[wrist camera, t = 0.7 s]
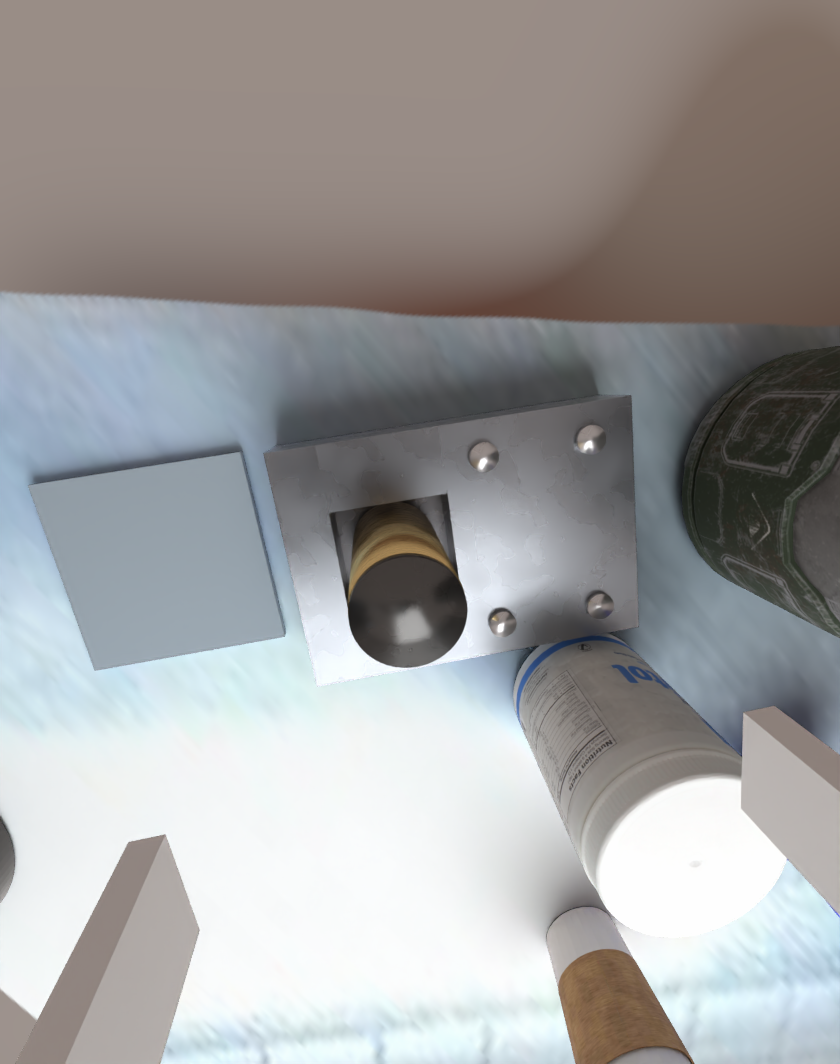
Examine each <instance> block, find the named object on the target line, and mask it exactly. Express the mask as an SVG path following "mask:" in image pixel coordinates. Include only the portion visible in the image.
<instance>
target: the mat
mask: <svg viewBox="0 0 840 1064" xmlns="http://www.w3.org/2000/svg"><path fill="white" fill-rule="evenodd" d="M28 487H29V490H30V493H31V496H32V498H33V501H34V504H35V507H36V509H37V512H38V515H39V518H40V521H41V523H42V526H43V529H44V532H45V534H46V537H47V540H48V543H49V545H50V548H51V551H52V554H53V556H54V559H55V562H56V565H57V568H58V570H59V573H60V576H61V579H62V581H63V584H64V587H65V590H66V592H67V595H68V598H69V601H70V603H71V606H72V609H73V612H74V615H75V617H76V620H77V623H78V626H79V628H80V631H81V634H82V637H83V639H84V642H85V645H86V648H87V650H88V653H89V656H90V659H91V662H92V664H93V667H94V670H95V671H96V670H102V669H107V668H113V667H119V666H124V665H130V664H135V663H141V662H146V661H152V660H158V659H163V658H169V657H174V656H180V655H185V654H191V653H197V652H202V651H208V650H213V649H219V648H224V647H230V646H236V645H241V644H247V643H252V642H258V641H263V640H269V639H275V638H280V637H285V634H286V631H285V626H284V622H283V618H282V614H281V610H280V606H279V601H278V597H277V593H276V589H275V585H274V581H273V577H272V572H271V568H270V564H269V560H268V556H267V552H266V547H265V543H264V539H263V535H262V531H261V527H260V522H259V518H258V514H257V510H256V506H255V502H254V498H253V493H252V489H251V485H250V481H249V477H248V473H247V468H246V464H245V460H244V456H243V452H242V451H240V452H233V453H227V454H221V455H214V456H208V457H201V458H195V459H189V460H182V461H176V462H170V463H163V464H157V465H151V466H144V467H138V468H131V469H125V470H119V471H112V472H106V473H100V474H93V475H87V476H81V477H74V478H68V479H62V480H55V481H49V482H42V483H36V484H32V485H28Z"/></svg>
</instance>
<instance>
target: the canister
mask: <svg viewBox="0 0 840 1064" xmlns="http://www.w3.org/2000/svg"><path fill="white" fill-rule="evenodd" d="M684 466H685V470H684V478H683V486H682V505H683V516H684V520H685V523H686V527H687V530H688V534H689V537H690V539H691V540H692V542H693V544H694V546H695V548H696V550H697V552H698V553H699V555H700V556H701V557H702V558H703V559H704V560H705V561H706V563H707V564H708V565H709V566H710V567H711V568H712V569H713V570H714V571H715V572H717V573H718V574H720V575H721V576H723V577H724V578H725V579H727V580H729V581H731V582H733V583H734V584H736V585H738V586H740V587H742V588H744V589H746V590H748V591H750V592H752V593H754V594H756V595H757V596H759V597H761V598H763V599H765V600H767V601H769V602H771V603H773V604H775V605H777V606H779V607H781V608H783V609H784V610H786V611H788V612H790V613H792V614H794V615H796V616H798V617H800V618H802V619H804V620H806V621H808V622H810V623H811V624H813V625H815V626H817V627H819V628H821V629H823V630H825V631H827V632H829V633H831V634H833V635H835V636H836V637H838V638H840V346H835V347H829V348H823V349H813V350H807V351H802V352H798V353H793V354H789V355H784V356H782V357H780V358H778V359H775V360H773V361H771V362H768V363H766V364H764V365H762V366H760V367H759V368H757V369H756V370H754V371H753V372H751V373H750V374H748V375H747V376H745V377H744V378H742V379H741V380H739V381H738V382H737V383H736V384H735V385H734V386H732V387H731V388H730V389H729V390H728V391H727V392H726V393H725V394H724V395H723V396H722V397H721V398H720V399H719V400H718V401H717V402H716V403H715V404H714V405H713V407H712V408H711V409H710V411H709V412H708V413H707V415H706V416H705V417H704V419H703V420H702V422H701V423H700V425H699V427H698V429H697V431H696V433H695V435H694V437H693V439H692V441H691V443H690V445H689V448H688V452H687V455H686V459H685V462H684Z"/></svg>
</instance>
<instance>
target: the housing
mask: <svg viewBox="0 0 840 1064" xmlns="http://www.w3.org/2000/svg"><path fill="white" fill-rule="evenodd" d="M263 454H264V458H265V463H266V467H267V471H268V476H269V480H270V484H271V489H272V493H273V498H274V502H275V506H276V511H277V515H278V519H279V524H280V528H281V532H282V537H283V541H284V545H285V550H286V554H287V558H288V563H289V567H290V572H291V576H292V580H293V585H294V589H295V593H296V598H297V602H298V606H299V611H300V615H301V619H302V624H303V628H304V632H305V637H306V641H307V646H308V650H309V654H310V659H311V663H312V667H313V672H314V676H315V680H316V685H317V687H318V686H323V685H329V684H334V683H340V682H345V681H350V680H356V679H361V678H366V677H372V676H377V675H383V674H388V673H393V672H399V671H404V670H409V669H415V668H420V667H426V666H431V665H436V664H442V663H447V662H452V661H458V660H463V659H469V658H474V657H479V656H485V655H490V654H495V653H501V652H506V651H512V650H517V649H522V648H528V647H533V646H538V645H544V644H549V643H555V642H560V641H565V640H571V639H576V638H581V637H587V636H592V635H598V634H603V633H608V632H614V631H619V630H624V629H630V628H635V627H639V616H638V585H637V554H636V524H635V493H634V462H633V431H632V400H631V395H596V396H589V397H583V398H577V399H570V400H564V401H558V402H551V403H545V404H539V405H532V406H526V407H519V408H513V409H507V410H500V411H494V412H488V413H481V414H475V415H469V416H462V417H456V418H449V419H443V420H437V421H430V422H424V423H418V424H411V425H405V426H399V427H392V428H386V429H380V430H373V431H367V432H360V433H354V434H348V435H341V436H335V437H329V438H322V439H316V440H310V441H303V442H297V443H290V444H284V445H278V446H275V447H273V448H272V449H270V450H268V451H267V452H265V453H263ZM392 502H402V503H407V504H410V505H412V506H414V507H416V508H418V509H419V510H420V511H422V512H423V513H424V514H425V515H426V516H427V518H428V519H429V520H430V522H431V524H432V526H433V528H434V530H435V532H436V534H437V536H438V538H439V540H440V542H441V544H442V546H443V548H444V550H445V552H446V554H447V556H448V558H449V560H450V562H451V564H452V566H453V568H454V570H455V572H456V574H457V576H458V578H459V580H460V582H461V584H462V586H463V589H464V592H465V596H466V600H467V609H468V612H467V620H466V625H465V628H464V631H463V633H462V635H461V637H460V638H459V640H458V641H457V643H456V644H455V645H454V646H453V648H452V649H451V650H450V651H449V652H447V653H446V654H445V655H444V656H442V657H441V658H439V659H437V660H435V661H434V662H432V663H429V664H426V665H423V666H419V667H412V668H399V667H393V666H388V665H385V664H383V663H380V662H378V661H376V660H374V659H373V658H371V657H370V656H368V655H367V654H366V653H365V652H364V651H363V650H362V649H361V648H360V647H359V645H358V644H357V642H356V641H355V639H354V637H353V635H352V633H351V629H350V626H349V619H348V595H349V582H350V570H351V558H352V546H353V536H354V532H355V528H356V526H357V524H358V522H359V521H360V519H361V518H362V517H363V515H364V514H366V513H367V512H368V511H369V510H370V509H372V508H374V507H375V506H377V505H380V504H386V503H392Z"/></svg>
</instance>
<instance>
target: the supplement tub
mask: <svg viewBox="0 0 840 1064" xmlns="http://www.w3.org/2000/svg"><path fill="white" fill-rule="evenodd" d="M513 701H514V708H515V712H516V715H517V717H518V720H519V722H520V725H521V727H522V730H523V732H524V734H525V736H526V739H527V741H528V743H529V745H530V748H531V750H532V752H533V754H534V756H535V759H536V761H537V763H538V766H539V768H540V771H541V773H542V775H543V777H544V779H545V782H546V784H547V786H548V788H549V791H550V793H551V795H552V797H553V800H554V802H555V804H556V807H557V809H558V811H559V814H560V816H561V818H562V820H563V823H564V825H565V827H566V830H567V832H568V834H569V836H570V839H571V841H572V843H573V845H574V848H575V850H576V852H577V854H578V856H579V859H580V861H581V863H582V865H583V867H584V870H585V872H586V874H587V876H588V878H589V880H590V882H591V883H592V884H593V886H594V887H595V888H596V890H597V892H598V894H599V896H600V898H601V900H602V902H603V903H604V905H605V907H606V908H607V909H608V911H609V912H610V913H611V914H612V915H613V916H614V917H615V918H616V919H617V920H618V921H620V922H621V923H623V924H624V925H626V926H628V927H629V928H631V929H634V930H636V931H638V932H641V933H644V934H648V935H653V936H659V937H685V936H692V935H697V934H702V933H705V932H708V931H711V930H714V929H717V928H719V927H722V926H724V925H726V924H728V923H730V922H732V921H734V920H736V919H737V918H739V917H740V916H742V915H743V914H745V913H746V912H748V911H749V910H750V909H752V908H753V907H754V906H755V905H756V904H757V903H758V902H759V901H761V900H762V899H763V898H764V897H765V895H766V894H767V893H768V892H769V891H770V890H771V888H772V887H773V886H774V884H775V883H776V881H777V880H778V878H779V876H780V875H781V873H782V871H783V868H784V866H785V864H786V861H787V858H786V857H785V856H784V855H783V854H782V853H781V851H780V850H779V849H778V848H777V847H776V846H775V845H774V844H773V843H772V842H771V841H770V840H769V838H768V837H767V836H766V835H765V834H764V833H763V832H762V831H761V830H760V829H759V828H758V826H757V825H756V824H755V823H754V822H753V821H752V820H751V819H750V818H749V817H748V816H747V815H746V813H745V812H744V811H743V810H742V809H741V780H742V757H741V756H740V755H739V754H738V753H737V752H736V751H735V750H734V749H733V748H732V747H731V746H730V745H729V744H728V743H727V742H726V741H725V740H724V739H723V738H722V737H721V736H720V735H719V734H718V733H717V732H716V731H715V730H714V729H713V728H712V727H711V726H710V725H709V724H708V723H707V722H706V721H705V720H704V719H703V718H702V717H701V716H700V715H699V714H698V713H697V712H696V711H695V710H694V709H693V708H692V707H691V706H690V705H689V704H688V703H687V702H686V701H685V700H684V699H683V698H682V697H681V696H680V695H679V694H678V693H677V692H676V691H675V690H674V689H673V688H672V687H671V686H670V685H669V684H667V683H666V682H665V681H664V680H663V679H662V678H661V677H660V676H659V675H658V674H657V673H656V672H655V671H654V670H653V669H652V668H651V667H650V666H649V665H648V664H647V663H646V662H645V661H644V660H643V659H642V658H641V657H640V656H639V655H638V654H637V653H636V652H635V651H634V650H633V649H632V648H631V647H630V646H628V645H627V644H626V643H625V642H624V641H622V640H620V639H619V638H617V637H615V636H613V635H610V634H607V633H603V634H598V635H592V636H587V637H581V638H576V639H571V640H565V641H560V642H555V643H549V644H544V645H540V646H539V647H537V648H536V649H535V650H534V651H533V652H532V653H531V654H530V655H529V656H528V658H527V659H526V660H525V662H524V663H523V665H522V666H521V668H520V670H519V672H518V675H517V678H516V681H515V685H514V694H513Z"/></svg>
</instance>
